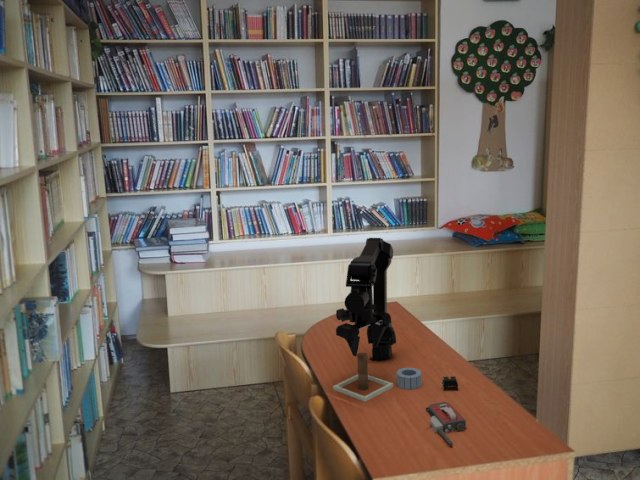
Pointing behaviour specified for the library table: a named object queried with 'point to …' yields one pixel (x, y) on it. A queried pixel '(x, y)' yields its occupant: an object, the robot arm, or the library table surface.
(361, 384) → the dowel
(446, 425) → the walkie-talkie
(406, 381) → the ring
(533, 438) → the library table surface
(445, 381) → the black angular piece
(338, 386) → the tray
